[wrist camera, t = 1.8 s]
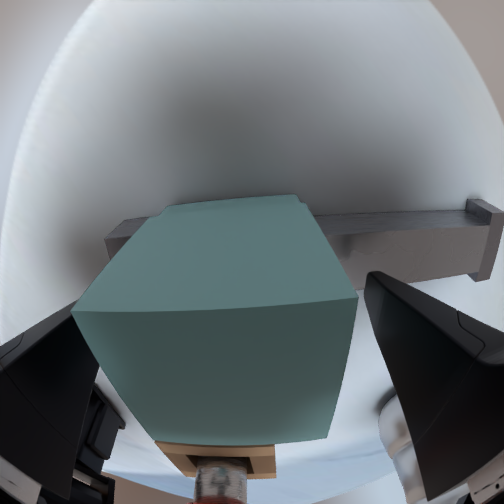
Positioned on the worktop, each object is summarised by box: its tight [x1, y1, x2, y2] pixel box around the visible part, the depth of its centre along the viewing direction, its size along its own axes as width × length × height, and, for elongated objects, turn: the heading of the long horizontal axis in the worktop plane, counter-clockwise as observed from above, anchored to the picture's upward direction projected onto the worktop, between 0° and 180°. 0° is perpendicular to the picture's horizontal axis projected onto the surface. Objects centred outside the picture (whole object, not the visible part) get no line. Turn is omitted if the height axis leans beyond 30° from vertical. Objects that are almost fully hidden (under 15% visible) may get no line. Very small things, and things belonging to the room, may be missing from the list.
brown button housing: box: [154, 440, 276, 479], centre depth 14 cm, size 6×6×5 cm
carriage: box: [71, 194, 358, 445], centre depth 8 cm, size 5×5×7 cm
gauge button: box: [186, 455, 247, 504], centre depth 11 cm, size 4×4×6 cm
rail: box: [104, 199, 504, 290], centre depth 11 cm, size 17×4×2 cm, turn 95°
